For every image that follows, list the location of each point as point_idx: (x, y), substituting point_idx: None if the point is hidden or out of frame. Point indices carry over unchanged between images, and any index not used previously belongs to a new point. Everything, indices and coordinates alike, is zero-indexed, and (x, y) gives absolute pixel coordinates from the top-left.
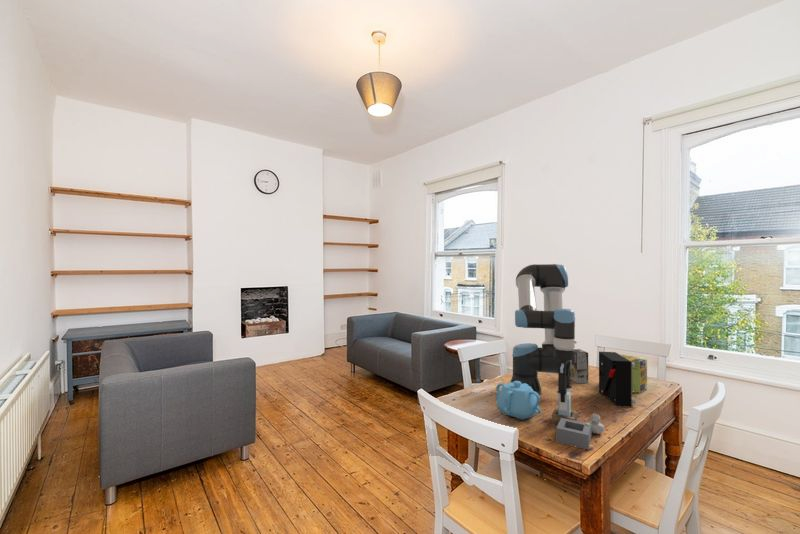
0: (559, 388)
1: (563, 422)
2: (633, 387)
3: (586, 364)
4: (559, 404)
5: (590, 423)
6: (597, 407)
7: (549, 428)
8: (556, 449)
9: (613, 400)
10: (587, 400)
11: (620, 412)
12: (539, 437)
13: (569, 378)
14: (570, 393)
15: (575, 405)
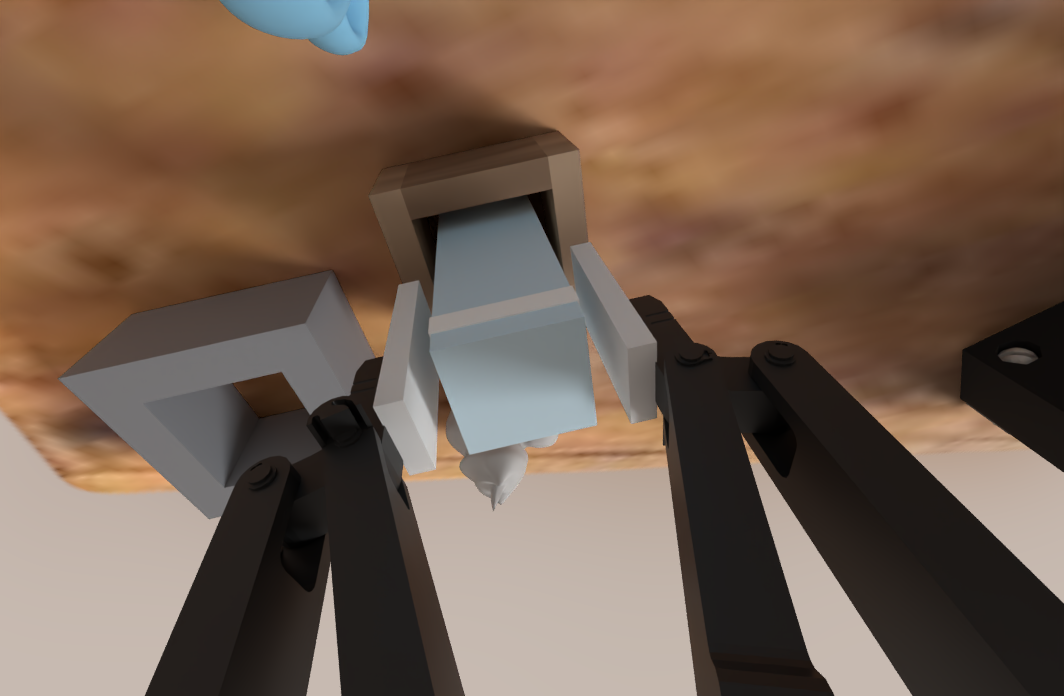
0: (224, 546)
1: (228, 371)
2: None
3: None
4: (394, 314)
5: None
6: (908, 290)
7: (292, 185)
8: (38, 352)
9: (1023, 340)
10: (1047, 196)
11: (859, 391)
12: (44, 196)
13: (794, 513)
14: (570, 425)
15: (912, 163)
